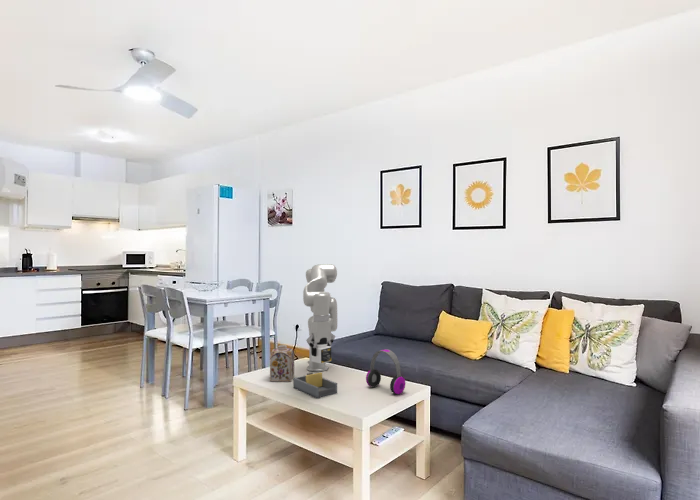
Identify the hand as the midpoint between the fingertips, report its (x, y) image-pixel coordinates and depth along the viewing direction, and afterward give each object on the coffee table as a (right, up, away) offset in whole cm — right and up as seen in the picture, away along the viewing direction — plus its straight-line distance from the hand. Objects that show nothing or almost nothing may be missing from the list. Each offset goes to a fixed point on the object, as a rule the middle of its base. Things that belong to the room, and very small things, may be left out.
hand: (321, 354), depth 209 cm
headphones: (+32, -19, +5) cm, 38 cm away
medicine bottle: (0, -4, 0) cm, 4 cm away
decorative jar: (-23, -20, +25) cm, 39 cm away
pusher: (-5, -18, +6) cm, 19 cm away
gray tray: (-3, -19, +4) cm, 20 cm away
